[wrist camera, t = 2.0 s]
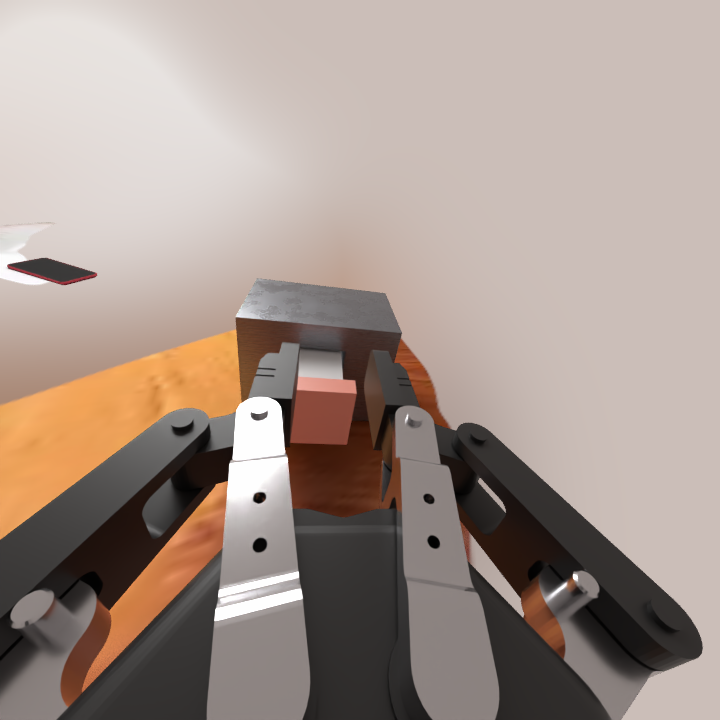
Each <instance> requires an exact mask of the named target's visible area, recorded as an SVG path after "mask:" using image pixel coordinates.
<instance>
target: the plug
mask: <svg viewBox="0 0 720 720" xmlns="http://www.w3.org/2000/svg"><path fill="white" fill-rule="evenodd" d="M356 395H357V392H356V384H355V380H343V371H342V358H341V350H329V349H318V348H306V347H300V354H299V371H298V384H297V393H296V401H295V409H294V417H293V424H292V432H291V440H290V443H311V444H339V445H347V441H348V436H349V431H350V426H351V421H352V415H353V410H354V405H355V400H356Z"/></svg>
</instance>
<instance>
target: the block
mask: <svg viewBox="0 0 720 720" xmlns="http://www.w3.org/2000/svg"><path fill="white" fill-rule="evenodd" d="M236 330H237V344H238V357H239V371H240V385H241V399H242V403H243V402H245V401H246V400H248V397H249V394H250V391H251V388H252V385H253V382H254V378H255V376H256V372H257V369H258V366H259V363H260V360H261V359H262V358H263V357H264V356H265V355H266V354H267V353H278V354H279V353H280V349H281V345H282V342H288V343H300V347H306V348H318V349H329V350H341V358H342V371H343V380H355V384H356V392H357V395H356V400H355V405H354V410H353V415H352V420H353V421H369V419H368V412H367V406H366V400H365V393H364V382H365V376H366V371H367V366H368V361H369V356H370V352H371V350H380V351H388V352H389V354H390V357H391V360H392V363H394V361H395V358H396V354H397V350H398V346H399V342H400V338H401V334H402V332H401V330H400V327H399V325H398V323H397V320H396V318H395V316H394V313H393V311H392V309H391V306H390V304H389V301H388V299H387V296H386V294H385V293H378V292H370V291H361V290H352V289H344V288H335V287H326V286H318V285H310V284H301V283H292V282H283V281H275V280H267V279H257V280H256V281H255V283H254V285H253V287H252V289H251V290H250V292H249V294H248V296H247V297H246V300H245V301H244V303H243V305H242V306H241V308H240V310H239V312H238V314H237V315H236Z"/></svg>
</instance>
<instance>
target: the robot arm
mask: <svg viewBox="0 0 720 720" xmlns="http://www.w3.org/2000/svg"><path fill="white" fill-rule="evenodd" d="M299 354H300V343H288V342H282V345H281V349H280V353H279V354H278V353H267V354H266V355H265V356H264V357H263V358H262V359H261V360H260V363H259V366H258V369H257V372H256V376H255V378H254V382H253V385H252V388H251V391H250V394H249V397H248V400H246V401H245V402H243V403H242V404H241V405H240V406H239V407H238V409H237V412H235V413H232V414H230V415H226V416H221V417H216V418H210V419H209V418H208V416H207V414H206V413H205V412H203V411H201V410H199V409H194V408H185V409H179V410H176V411H173V412H171V413H169V414H167V415H165V416H164V417H163V418H161V419H160V420H159V421H157V422H156V423H155V424H153V425H152V426H151V427H149V428H148V429H147V430H145V431H144V432H143V433H141V434H140V435H139V436H137V437H136V438H135V439H133V440H132V441H131V442H129V443H128V444H127V445H125V446H124V447H123V448H121V449H120V450H119V451H118V452H116V453H115V454H114V455H112V456H111V457H110V458H108V459H107V460H106V461H104V462H103V463H102V464H100V465H99V466H98V467H96V468H95V469H94V470H92V471H91V472H90V473H88V474H87V475H86V476H84V477H83V478H82V479H80V480H79V481H78V482H76V483H75V484H74V485H72V486H71V487H70V488H68V489H67V490H66V491H64V492H63V493H62V494H61V495H59V496H58V497H57V498H55V499H54V500H53V501H51V502H50V503H49V504H47V505H46V506H45V507H43V508H42V509H41V510H39V511H38V512H37V513H35V514H34V515H33V516H31V517H30V518H29V519H27V520H26V521H25V522H23V523H22V524H21V525H19V526H18V527H17V528H15V529H14V530H13V531H11V532H10V533H9V534H8V535H6V536H5V537H4V538H2V539H1V540H0V720H621V719H622V718H623V716H624V715H625V713H626V711H627V710H628V708H629V707H630V705H631V704H632V702H633V701H634V699H635V698H636V696H637V695H638V693H639V692H640V690H641V688H642V687H643V686H644V684H645V682H646V681H647V679H648V678H650V677H652V676H654V675H657V674H659V673H662V672H664V671H666V670H669V669H671V668H674V667H676V666H679V665H681V664H684V663H686V662H689V661H691V660H694V659H696V658H698V657H699V656H700V655H701V653H702V649H703V647H702V641H701V637H700V635H699V632H698V630H697V628H696V627H695V625H694V624H693V622H692V620H691V619H690V617H689V616H688V615H687V614H686V612H685V611H684V610H683V609H682V608H681V607H680V605H678V604H677V603H676V602H675V601H674V600H673V599H672V598H671V597H670V596H669V595H668V594H667V593H666V592H665V591H664V590H662V589H661V588H660V587H659V586H658V585H657V584H656V583H655V582H654V581H653V580H652V579H650V578H649V577H648V576H647V575H646V574H645V573H644V572H643V571H642V570H641V569H640V568H638V567H637V566H636V565H635V564H634V563H633V562H632V561H631V560H630V559H629V558H627V557H626V556H625V555H624V554H623V553H622V552H621V551H620V550H619V549H618V548H617V547H615V546H614V545H613V544H612V543H611V542H610V541H609V540H608V539H607V538H606V537H604V536H603V535H602V534H601V533H600V532H599V531H598V530H597V529H596V528H595V527H594V526H593V525H591V524H590V523H589V522H588V521H587V520H586V519H585V518H584V517H583V516H582V515H581V514H579V513H578V512H577V511H576V510H575V509H574V508H573V507H572V506H571V505H570V504H569V503H567V502H566V501H565V500H564V499H563V498H562V497H561V496H560V495H559V494H558V493H556V492H555V491H554V490H553V489H552V488H551V487H550V486H549V485H548V484H547V483H546V482H544V481H543V480H542V479H541V478H540V477H539V476H538V475H537V474H536V473H535V472H534V471H532V470H531V469H530V468H529V467H528V466H527V465H526V464H525V463H524V462H523V461H522V460H520V459H519V458H518V457H517V456H516V455H515V454H514V453H513V452H512V451H511V450H509V449H508V448H507V447H506V446H505V445H504V444H503V443H502V442H501V441H500V440H499V439H498V438H496V437H495V436H494V435H493V434H492V433H491V432H490V431H488V430H487V429H486V428H484V427H482V426H480V425H477V424H474V423H463V424H461V425H460V426H459V427H458V429H457V431H455V430H452V429H448V428H445V427H442V426H439V425H437V424H434V421H433V419H432V417H431V416H430V414H429V413H427V412H426V411H425V410H423V409H421V408H420V406H419V404H418V401H417V398H416V395H415V393H414V390H413V387H412V385H411V382H410V380H409V376H408V374H407V371H406V370H405V369H404V368H403V367H402V366H401V365H400V364H399V363H392V360H391V357H390V354H389V352H388V351H380V350H371V352H370V356H369V361H368V366H367V371H366V376H365V382H364V393H365V400H366V406H367V412H368V419H369V425H370V431H371V438H372V444H373V450H382V454H383V458H382V461H381V465H380V490H379V509H376V510H372V511H368V512H365V513H361V514H357V515H354V516H350V517H345V518H342V517H338V516H334V515H330V514H326V513H322V512H318V511H314V510H310V509H292V500H291V490H290V480H289V470H288V460H287V454H285V447H290V440H291V432H292V424H293V417H294V409H295V401H296V393H297V384H298V371H299ZM479 478H481V479H482V480H483V481H484V482H485V483H486V484H487V485H488V486H489V488H490V489H491V490H492V491H493V492H494V493H495V494H496V495H497V496H498V497H499V498H500V500H501V501H502V502H503V504H504V506H505V509H506V513H505V512H504V511H503V510H502V508H501V507H500V506H499V505H498V504H497V503H496V502H495V501H494V500H493V498H492V497H491V496H490V495H489V494H488V493H487V492H486V491H485V490H484V489H483V487H482V486H481V485H480V484H479V483H478V480H479ZM225 481H228V491H227V504H226V516H225V528H224V540H223V548H222V549H221V550H220V551H219V552H218V553H217V554H216V555H215V557H214V558H213V559H212V560H211V561H210V562H209V563H208V564H207V565H206V566H205V567H204V568H203V569H202V570H201V571H200V572H199V573H198V574H197V575H196V576H195V577H194V578H193V579H192V580H191V581H190V582H189V583H188V584H187V585H186V586H185V587H184V588H183V590H182V591H181V592H180V593H179V594H178V595H177V596H176V597H175V598H174V599H173V600H172V601H171V602H170V603H169V604H168V605H167V606H166V607H165V608H164V609H163V610H162V611H161V612H160V613H159V614H158V615H157V616H156V617H155V618H154V619H153V620H152V621H151V623H150V624H149V625H148V626H147V627H146V628H145V629H144V630H143V631H142V632H141V633H140V634H139V635H138V636H137V637H136V638H135V639H134V640H133V641H132V642H131V643H130V644H129V645H128V646H127V647H126V648H125V649H124V650H123V651H122V652H121V653H120V654H119V656H118V657H117V658H116V659H115V660H114V661H113V662H112V663H111V664H110V665H109V666H108V667H107V668H106V669H105V670H104V671H103V672H102V673H101V674H100V675H99V676H98V677H97V678H96V679H95V680H94V681H93V682H92V683H91V684H90V685H89V686H88V687H87V688H86V690H85V691H84V692H83V693H82V687H83V683H84V680H85V677H86V675H87V672H88V670H89V668H90V667H91V665H92V663H93V661H94V660H95V658H96V657H97V655H98V654H99V652H100V651H101V649H102V648H103V646H104V644H105V642H106V640H107V638H108V635H109V632H110V628H111V615H110V612H109V610H110V609H111V608H112V607H113V605H114V604H115V603H116V602H117V601H118V600H119V598H120V597H121V596H122V595H123V594H124V593H125V591H126V590H127V589H128V588H129V587H130V586H131V584H132V583H133V582H134V581H135V580H136V579H137V577H138V576H139V575H140V574H141V573H142V572H143V570H144V569H145V568H146V567H147V566H148V564H149V563H150V562H151V561H152V560H153V559H154V557H155V556H156V555H157V554H158V553H159V552H160V550H161V549H162V548H163V547H164V546H165V545H166V543H167V542H168V541H169V540H170V539H171V538H172V536H173V535H174V534H175V533H176V532H177V530H178V529H179V528H180V527H181V526H182V525H183V523H184V522H185V521H186V520H187V519H188V518H189V516H190V515H191V514H192V513H193V512H194V511H195V509H196V508H197V507H198V506H199V505H200V504H201V502H202V501H203V500H204V499H205V498H206V496H207V495H208V494H209V493H210V492H211V491H212V489H213V488H214V487H215V485H216V484H218V483H222V482H225ZM459 519H460V520H459ZM460 521H461V522H462V523H463V524H464V526H465V527H466V528H467V530H468V531H469V532H470V534H471V535H472V536H473V537H474V539H475V540H476V541H477V543H478V544H479V545H480V546H481V548H482V549H483V550H484V551H485V553H486V554H487V555H488V557H489V558H490V559H491V561H492V562H493V563H494V564H495V566H496V567H497V568H498V570H499V571H500V572H501V574H502V575H503V576H504V577H505V579H506V580H507V581H508V582H509V584H510V585H511V586H512V588H513V589H514V590H515V592H516V593H517V594H518V595H519V597H520V598H521V604H522V608H523V612H524V617H521V615H520V614H519V613H518V612H517V611H515V609H514V608H513V607H512V606H511V605H510V604H509V603H508V602H507V601H506V600H505V599H504V598H503V597H502V596H501V595H500V594H499V593H498V592H497V591H496V590H495V589H494V588H493V587H492V586H491V585H490V584H489V583H488V582H487V581H486V580H485V578H483V576H482V575H481V574H480V573H479V572H478V571H477V570H476V569H475V568H474V567H473V566H472V565H471V564H470V563H469V562H468V561H467V557H466V552H465V546H464V541H463V536H462V531H461V525H460ZM81 693H82V694H81Z"/></svg>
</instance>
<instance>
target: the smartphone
mask: <svg viewBox="0 0 720 720" xmlns="http://www.w3.org/2000/svg"><path fill="white" fill-rule="evenodd" d="M7 266H8V268H10V269H13V270H16V271H20V272H23V273H26V274H29V275H33V276H36V277H39V278H42V279H45V280H49V281H51V282H54V283H57V284H61V285H69V284H72V283H76V282H80V281H83V280H88V279H92V278H95V277H96V276H97V273H95V272H92V271H88V270H85V269H82V268H78V267H75V266H71V265H69V264H65V263H62V262H58V261H55V260H52V259H48V258H39V259H34V260H29V261H23V262H18V263H12V264H8V265H7Z"/></svg>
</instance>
